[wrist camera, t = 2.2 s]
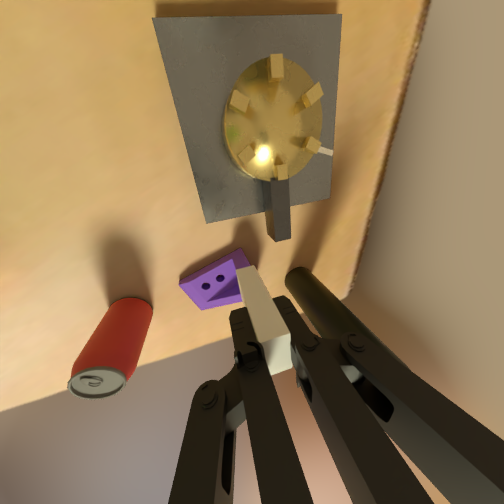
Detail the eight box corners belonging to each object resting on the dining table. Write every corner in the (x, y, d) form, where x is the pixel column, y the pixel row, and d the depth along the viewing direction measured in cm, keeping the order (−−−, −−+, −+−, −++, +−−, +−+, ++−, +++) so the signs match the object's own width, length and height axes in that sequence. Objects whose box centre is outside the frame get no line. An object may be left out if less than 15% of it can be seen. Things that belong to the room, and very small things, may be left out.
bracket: (240, 246, 31) (249, 266, 25) (255, 274, 35) (267, 297, 29) (179, 279, 31) (174, 307, 25) (201, 304, 34) (201, 333, 28)
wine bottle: (312, 282, 39) (543, 522, 13) (289, 294, 39) (474, 564, 13) (306, 262, 36) (585, 518, 10) (280, 275, 36) (497, 572, 10)
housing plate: (156, 31, 18) (151, 16, 16) (330, 26, 22) (343, 12, 20) (206, 220, 28) (206, 224, 26) (322, 196, 31) (330, 198, 29)
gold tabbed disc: (212, 77, 19) (215, 53, 15) (306, 70, 21) (331, 47, 17) (241, 239, 28) (247, 252, 24) (305, 224, 30) (321, 234, 26)
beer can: (126, 288, 29) (85, 358, 19) (161, 307, 32) (143, 376, 22) (100, 314, 30) (46, 395, 19) (137, 330, 33) (108, 407, 22)
